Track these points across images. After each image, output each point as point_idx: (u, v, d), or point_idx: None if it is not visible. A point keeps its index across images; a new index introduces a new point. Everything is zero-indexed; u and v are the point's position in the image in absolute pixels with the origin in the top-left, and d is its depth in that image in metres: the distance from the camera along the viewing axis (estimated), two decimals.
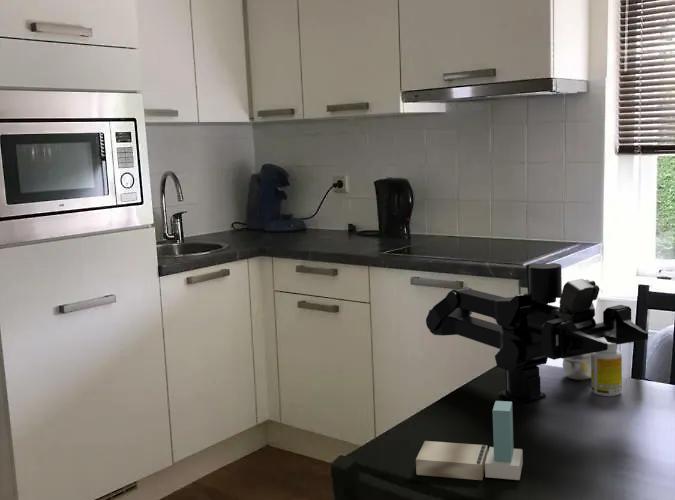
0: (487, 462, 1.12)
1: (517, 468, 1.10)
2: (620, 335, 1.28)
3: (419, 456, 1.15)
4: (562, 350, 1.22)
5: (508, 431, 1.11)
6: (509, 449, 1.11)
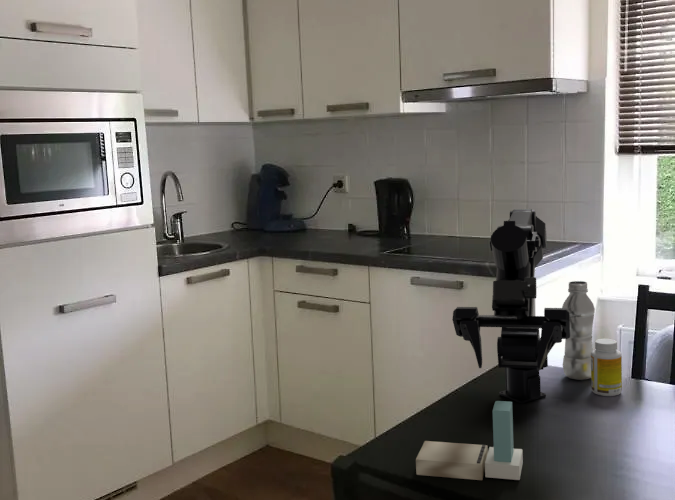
0: (487, 462, 1.12)
1: (517, 468, 1.10)
2: None
3: (419, 456, 1.15)
4: (464, 336, 1.26)
5: (508, 431, 1.11)
6: (509, 449, 1.11)
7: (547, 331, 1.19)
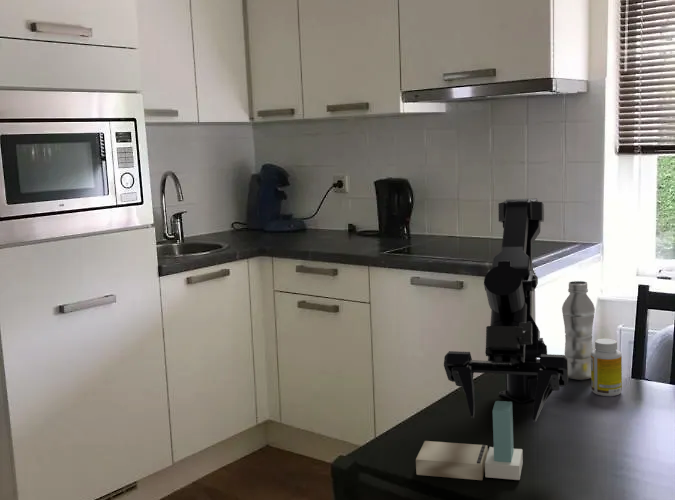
0: (487, 462, 1.12)
1: (517, 468, 1.10)
2: None
3: (419, 456, 1.15)
4: (456, 382, 1.20)
5: (508, 431, 1.11)
6: (509, 449, 1.11)
7: (543, 380, 1.12)
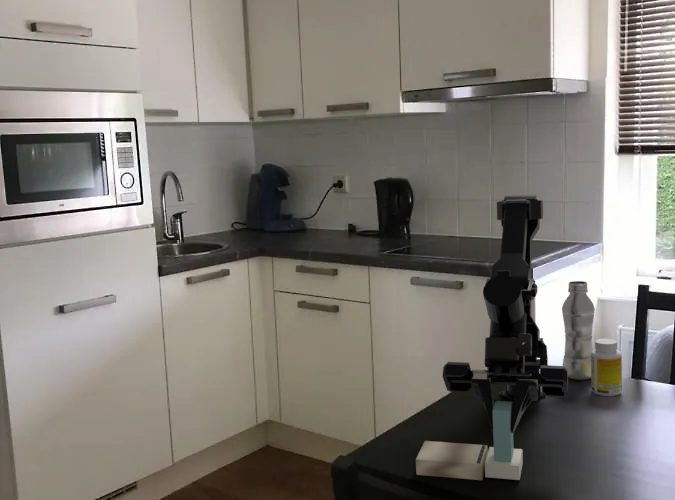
0: (487, 462, 1.12)
1: (517, 468, 1.10)
2: None
3: (419, 456, 1.15)
4: (475, 394, 1.18)
5: (508, 431, 1.11)
6: (509, 449, 1.11)
7: (521, 391, 1.12)
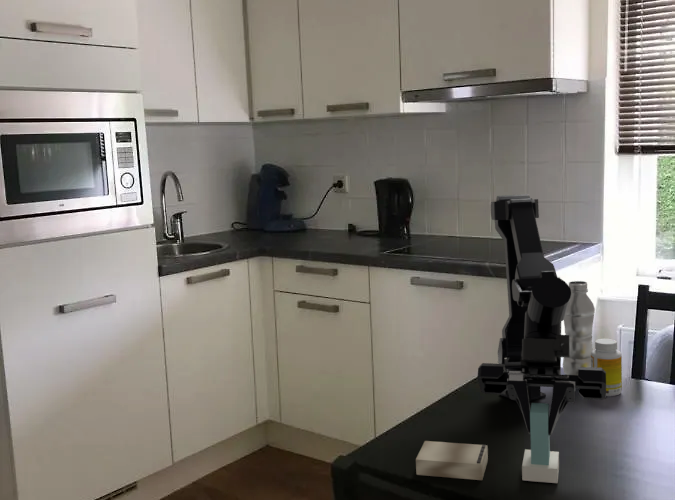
0: (524, 465, 1.10)
1: (555, 471, 1.08)
2: None
3: (419, 456, 1.15)
4: (510, 396, 1.16)
5: (545, 434, 1.09)
6: (547, 452, 1.09)
7: (559, 392, 1.10)
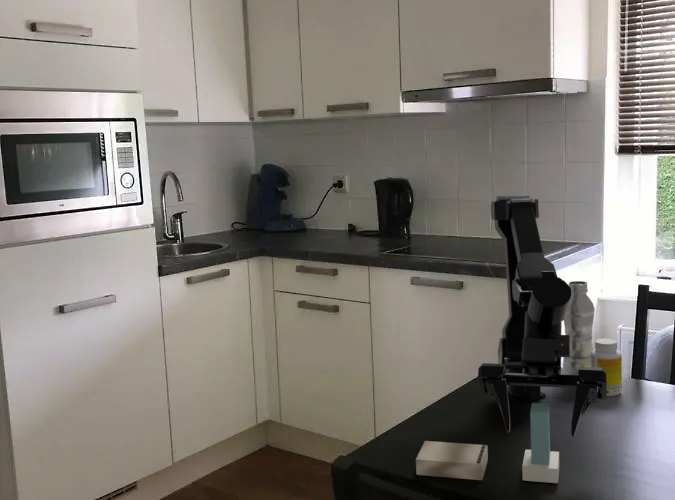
0: (524, 465, 1.10)
1: (555, 471, 1.08)
2: None
3: (419, 456, 1.15)
4: (490, 395, 1.17)
5: (546, 434, 1.09)
6: (547, 452, 1.09)
7: (582, 394, 1.09)
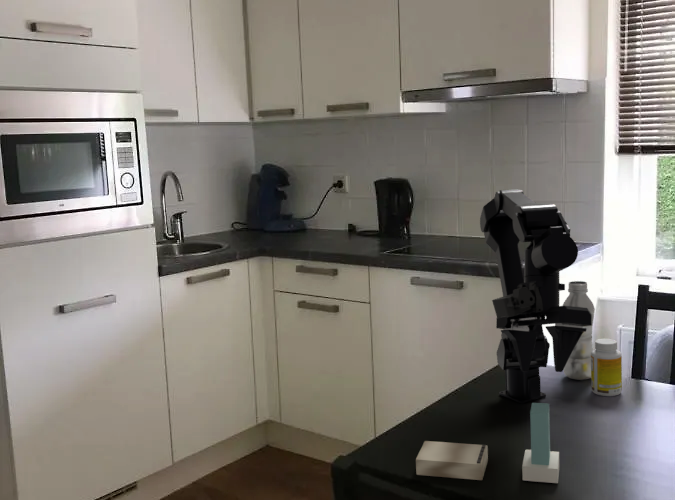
0: (524, 465, 1.10)
1: (555, 471, 1.08)
2: None
3: (419, 456, 1.15)
4: None
5: (546, 434, 1.09)
6: (547, 452, 1.09)
7: (553, 334, 1.18)
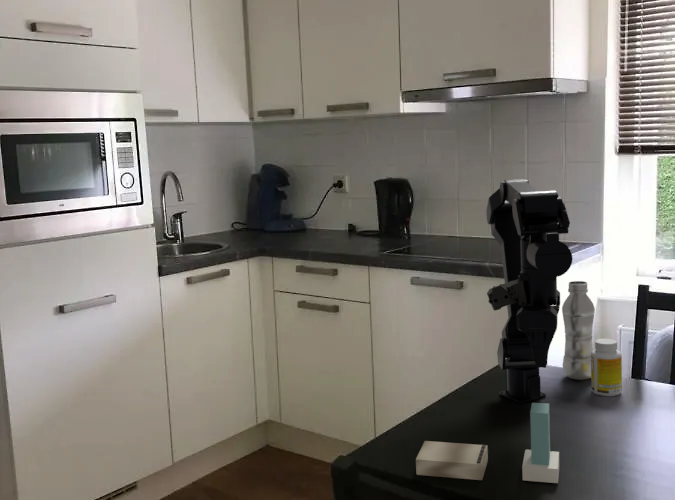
0: (524, 465, 1.10)
1: (555, 471, 1.08)
2: None
3: (419, 456, 1.15)
4: None
5: (546, 434, 1.09)
6: (547, 452, 1.09)
7: None
